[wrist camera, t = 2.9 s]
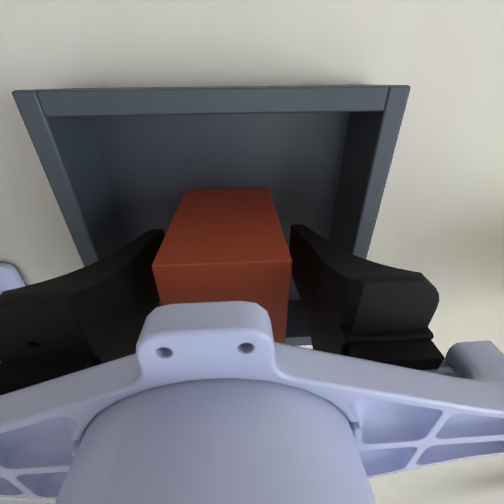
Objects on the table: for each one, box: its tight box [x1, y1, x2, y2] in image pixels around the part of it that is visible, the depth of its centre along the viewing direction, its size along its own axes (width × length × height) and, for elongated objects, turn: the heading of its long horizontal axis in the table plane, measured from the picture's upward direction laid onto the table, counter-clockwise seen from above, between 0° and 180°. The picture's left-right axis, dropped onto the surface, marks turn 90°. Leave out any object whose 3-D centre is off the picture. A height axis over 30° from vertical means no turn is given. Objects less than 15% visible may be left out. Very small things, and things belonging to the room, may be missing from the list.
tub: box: [12, 85, 410, 346], centre depth 14 cm, size 14×14×4 cm
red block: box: [152, 188, 292, 344], centre depth 12 cm, size 4×4×7 cm
